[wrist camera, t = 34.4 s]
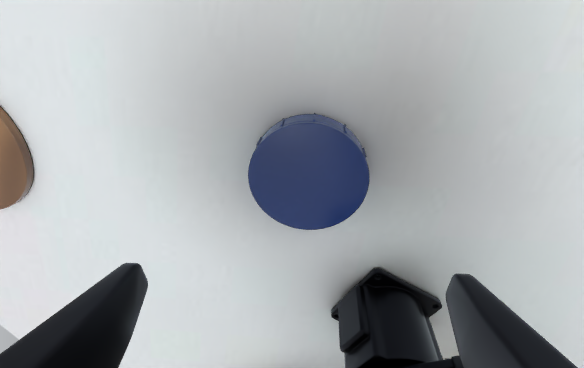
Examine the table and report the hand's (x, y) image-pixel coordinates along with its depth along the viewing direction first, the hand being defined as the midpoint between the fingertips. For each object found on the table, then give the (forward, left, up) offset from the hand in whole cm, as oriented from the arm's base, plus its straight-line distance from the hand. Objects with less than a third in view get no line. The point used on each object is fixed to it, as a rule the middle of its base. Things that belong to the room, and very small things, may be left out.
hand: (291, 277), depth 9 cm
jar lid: (-1, +2, -10) cm, 10 cm away
